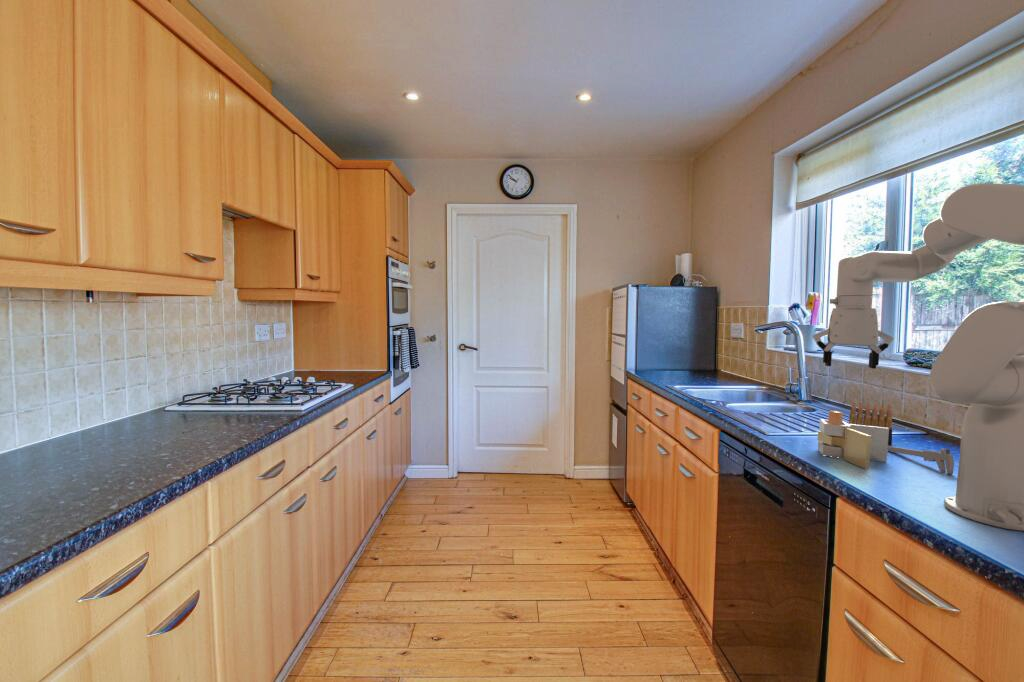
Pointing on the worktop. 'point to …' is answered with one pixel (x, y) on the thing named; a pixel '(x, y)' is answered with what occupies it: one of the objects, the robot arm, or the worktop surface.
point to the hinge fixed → (877, 433)
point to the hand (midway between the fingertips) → (849, 366)
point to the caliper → (930, 457)
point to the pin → (835, 419)
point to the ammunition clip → (872, 418)
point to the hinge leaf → (851, 446)
